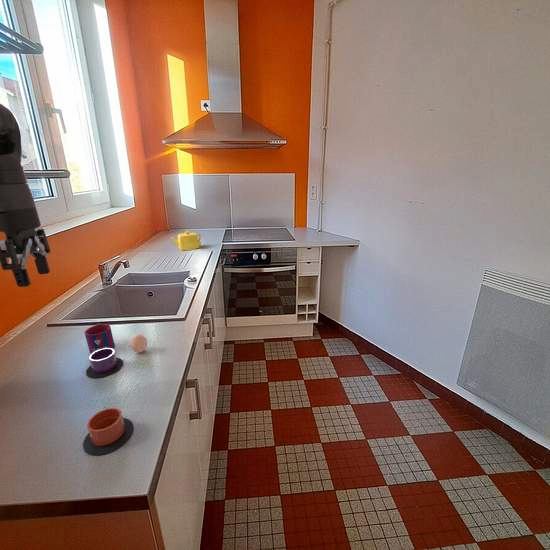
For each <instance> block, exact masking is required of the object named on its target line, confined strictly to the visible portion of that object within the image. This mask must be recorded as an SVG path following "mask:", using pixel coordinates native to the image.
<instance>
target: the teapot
mask: <svg viewBox="0 0 550 550" xmlns="http://www.w3.org/2000/svg"><path fill="white" fill-rule="evenodd" d="M170 239H171V240H172V242H174V244H175V245H177V247H178V250H179V251H181V250H186V251H189V250H188V249H194V250H198V249H197V248H199V249H200V246H201V245H202V242H201V239H202V236H201V234H199V233H195V232H190V231H189V230H187V231H184V233H178V234H177V239H176V238H175V237H174V236H172V237H171V238H170Z"/></svg>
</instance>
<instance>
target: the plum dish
mask: <svg viewBox="0 0 550 550" xmlns="http://www.w3.org/2000/svg"><path fill="white" fill-rule="evenodd" d="M116 357H117V356H116V351H115V348H113V349H112V348H104V349H100V350H97V351H95V352H94V353H92V354H90V355H89V357H88V358H89V362H90V366H91V367H92V370H93V371H94V372H97V373H102V372H106V371H109V370H111V369H112V368H114V367H115V365H116V364H117V359H116Z"/></svg>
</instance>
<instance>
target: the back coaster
mask: <svg viewBox="0 0 550 550" xmlns="http://www.w3.org/2000/svg"><path fill="white" fill-rule="evenodd" d="M116 359H117V364H116V365H115V367H114V368H112V369H111V370H109V371H106V372H102V373H97V372H94V371H93V370H92V367H91V365H89V366H88V367H87V369H86V370H85V374H86V376H87V377H88V378H91V379H102V378H103V379H104V378H106V377H109V376H111V375H113V374H115V373H117V372H119V370H121V369H122V367H123V365H124V361H123V359H122V358H120V357H117V356H116Z"/></svg>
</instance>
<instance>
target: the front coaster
mask: <svg viewBox="0 0 550 550" xmlns="http://www.w3.org/2000/svg"><path fill="white" fill-rule="evenodd" d="M123 420H124V424H125V430H124V433H123V434H122V435H121V436H120V438H118V439H117V440H116V441H114V442H113V443H111V444H108V445H104V446H97V445H94V444H93V443H92V441H91V438H90V434H89V432H88V433H87V434H86V436H85V438H84V439H83V442H82V448H83V450H84V452H85V453H86V454H88V455H89V456H95V457H98V456H104V455H108V454H110V453H112V452H115V451H117V450H119V449H120V448H121V447H122V446H124V445H125V444H126V443H127V442H128V441H129V440H130V438H131V437H132V435H133V433H134V424H133V421H131V419H129V418H126V417H123Z"/></svg>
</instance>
